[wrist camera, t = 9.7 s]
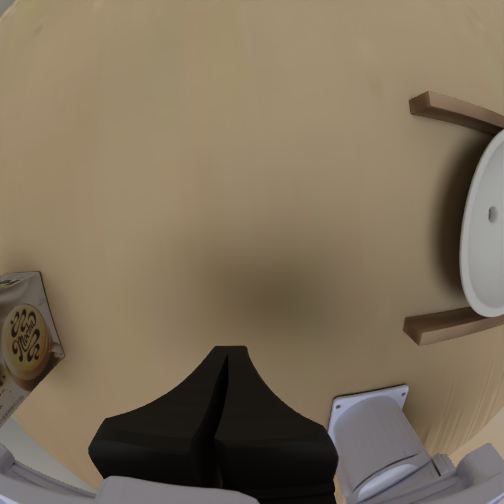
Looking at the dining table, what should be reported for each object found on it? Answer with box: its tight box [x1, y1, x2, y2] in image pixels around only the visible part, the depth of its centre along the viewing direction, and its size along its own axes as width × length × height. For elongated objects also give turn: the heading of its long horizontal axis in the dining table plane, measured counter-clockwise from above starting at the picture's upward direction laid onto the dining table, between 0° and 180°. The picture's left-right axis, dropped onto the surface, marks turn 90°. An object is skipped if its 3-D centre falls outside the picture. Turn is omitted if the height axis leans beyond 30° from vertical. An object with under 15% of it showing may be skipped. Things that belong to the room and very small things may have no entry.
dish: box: [459, 129, 504, 317], centre depth 18 cm, size 18×14×5 cm
